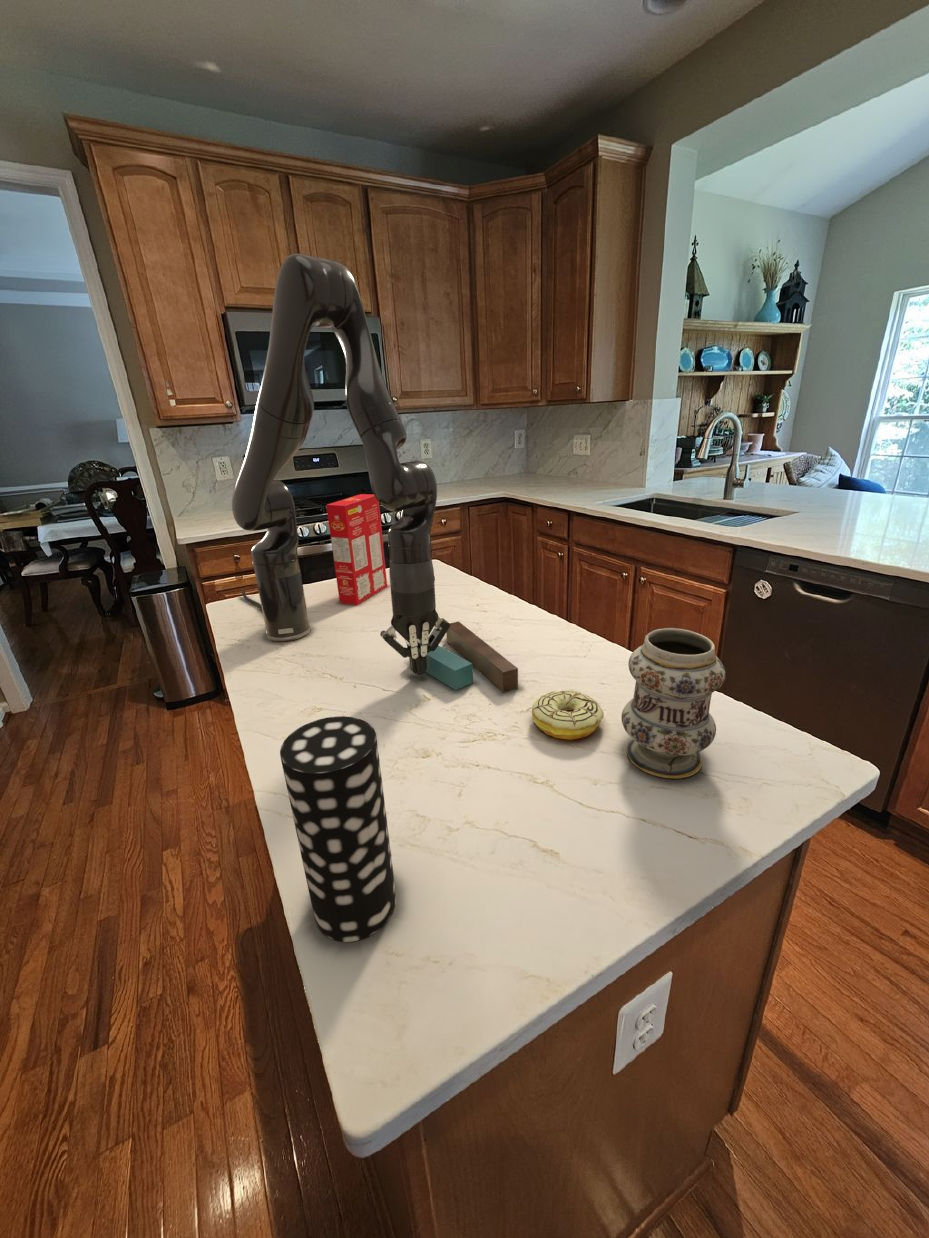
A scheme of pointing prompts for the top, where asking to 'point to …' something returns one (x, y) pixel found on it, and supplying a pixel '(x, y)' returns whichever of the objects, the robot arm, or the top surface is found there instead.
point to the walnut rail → (483, 657)
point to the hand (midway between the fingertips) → (418, 673)
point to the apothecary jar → (672, 702)
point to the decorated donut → (567, 714)
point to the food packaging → (357, 547)
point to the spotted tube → (341, 825)
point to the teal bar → (449, 668)
